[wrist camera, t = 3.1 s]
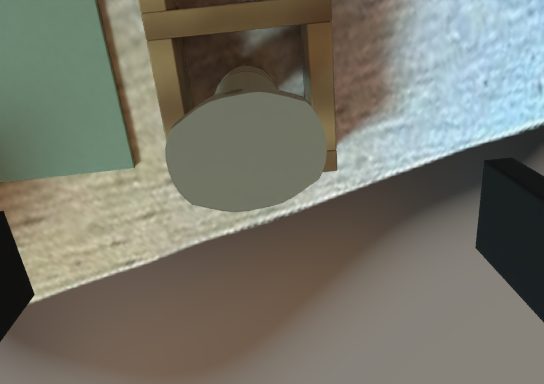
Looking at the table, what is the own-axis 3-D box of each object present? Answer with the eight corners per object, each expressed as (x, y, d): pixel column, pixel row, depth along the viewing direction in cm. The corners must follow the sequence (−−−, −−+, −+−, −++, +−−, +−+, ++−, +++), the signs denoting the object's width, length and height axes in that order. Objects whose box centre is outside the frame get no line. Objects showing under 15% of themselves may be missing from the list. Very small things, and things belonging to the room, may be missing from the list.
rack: (120, -168, 25) (99, -196, 22) (312, -187, 26) (323, -218, 22) (183, 167, 34) (175, 188, 30) (327, 152, 34) (337, 171, 30)
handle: (297, 110, 32) (334, 193, 19) (211, 128, 33) (184, 223, 19) (285, 42, 30) (316, 78, 17) (193, 61, 31) (150, 113, 17)
